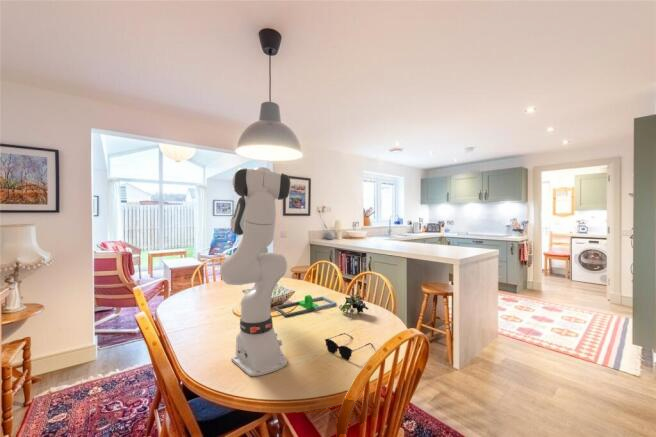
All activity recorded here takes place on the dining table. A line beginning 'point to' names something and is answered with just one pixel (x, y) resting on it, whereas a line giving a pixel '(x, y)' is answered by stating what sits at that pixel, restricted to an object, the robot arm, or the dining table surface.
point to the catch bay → (325, 304)
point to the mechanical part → (308, 302)
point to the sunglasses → (340, 348)
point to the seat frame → (292, 312)
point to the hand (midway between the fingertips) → (261, 260)
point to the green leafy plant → (353, 304)
